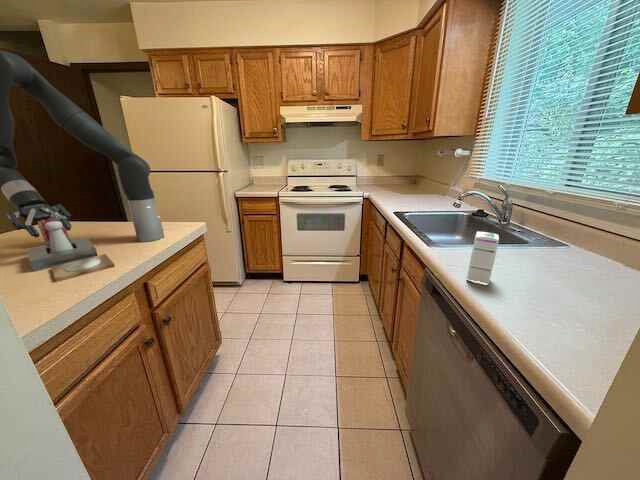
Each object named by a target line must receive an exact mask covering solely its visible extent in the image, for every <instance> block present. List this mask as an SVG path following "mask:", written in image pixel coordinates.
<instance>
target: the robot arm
mask: <svg viewBox="0 0 640 480" xmlns="http://www.w3.org/2000/svg"><path fill="white" fill-rule="evenodd" d="M12 85H13V86H15V87H18V88H19V89H21V90H22V91H24V92H26V93H27V94H28V95H30V96H31V97H32V98H33V99H35V100H36V101H38V103H40V105H42V107H44V109H45V110H46V111H47V113H48V115H49V116H50V117H51V119H52V120H53V121H54V122H55V123H56V124H57V125H58V126H59V127H60V128H61V129H63V130H64V131H66V133H68V134H69V135H71V137H73V138H75V139H76V140H77V141H79V142H81V143H82V144H84V145H85V146H87V147H89V148H91V149H93V150H94V151H96V152H98V153H100V154H102V155H104V156H106V157H107V158H108V159H109V160H110V161H112V162H113V163H114V164H116V166H117V173H118V177H119V180H120V184H121V187H122V191H123V192H124V195H126V199H127V204H128V208H129V211H130V215H131V219H132V224H133V227H134V232H135V236H136V240H137V241H138V242H142V243H147V242H154V241H157V240H160V239H163V238H165V234H164V227H163V222H162V219H161V216H160V215H159V212H158V208H157V203H156V198H155V193H154V191H153V189H152V187H151V184H150V180H149V179H150V178H149V176H150V174H151V168H150V165H149V164H148V162H147V161H146V160H145V159H143V158H142V157H140V156H139V155H137V154H136V153H134V152H133V151H132V150H131V149H129V148H128V147H126V146H125V145H123V144H122V143H121V142H120V141H119V140H117V139H116V138H115V137H114V136H113V135H112V134H111V133H110V132H109V131H108V130H107V129H106V128H104V127H103V126H102V125H101V124H100V123H98V122H97V120H95V119H94V118H93V117H92V116H90V115H89V114H88V113H87V112H85V111H84V110H83V109H82V108H80V107H79V106H78V105H77V104H75V103H74V102H73V101H72V100H70V98H68V97H67V96H65V95H64V94H63V93H61V92H60V91H59V90H58V89H57V88H56V87H54V85H52V84H51V83H50V82H49V81H48V80H46V78H45V77H44V76H43V75H42V74H40V72H38V71H37V69H36V68H34V67H33V66H32V65H31V64H30V63H29V62H28V61H27V60H25V59H24V58H23V57H21V56H19V55H17V54H16V53H14V52H9V51H6V50H2V49H0V190H1V192H2V193H3V195H4V197H5V198H6V200H7V201H8V202H9V203H10V204H11V205H12V206H13V207H14V208H15V210H16V212H14V211H12V210H10V211H7V217H6V218H7V220H9V222H10V223H11V225H12V227H14V229H15V230H17V231H20V230H25V231H27V232H28V234H29V235H30V236H31V237H35V238H39V237H40V232H39V231H38V230H37V229H36V228H35V226H33V225H32V224H33V223H34V222H37V223H38V221H41V220H48V219H51V220H53V221H55V220H56V221H60V222H61V223H62V225H63V226H64V227H65V229H66V230H67V232H68V231H71V228H72V224H71V222H70V219H71V216H72V214H71V213H70V212H69V211H68V210H67V209H66V208H65V206H63V205H62V204H61V203H57V204H56V205H54V206H53V205H52V206H51V205H49V204H48V203H47V201H46V200H45V198H43V197H42V196H41V194H40V193H39V192H38V190H37V189H36V188H35V187H34V186H33V185H31V184H30V182H29V181H28V180H27V179H26V178H25V177H24V176H23V174H21V172H19V171H18V170H15V169H16V168H17V167H18V160H17V158H16V153H15V149H14V145H13V142H14V136H15V120H14V116H13V113H12V111H11V106H10V104H9V94H10V91H11V88H12ZM51 214H52V215H53V216H51ZM19 217H21V218H23V219H26V220H25V223H22V222H21V220H20V219H19Z"/></svg>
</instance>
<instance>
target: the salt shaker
mask: <svg viewBox="0 0 640 480" xmlns="http://www.w3.org/2000/svg"><path fill="white" fill-rule="evenodd" d="M44 226H45V229H46V230H49V238H50V248H51V253H55V252H60V251H64V250H69V249H74V248H73V247H72V245H71V244H70V242H69V241H70V239H69V240H68V239H67V237H66V236H65V234H64V233H63V231H62V229H61V228H62V227H63V225H62V223H61V222H60V221H51V222H48V223H46V224H45V225H44Z"/></svg>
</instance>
